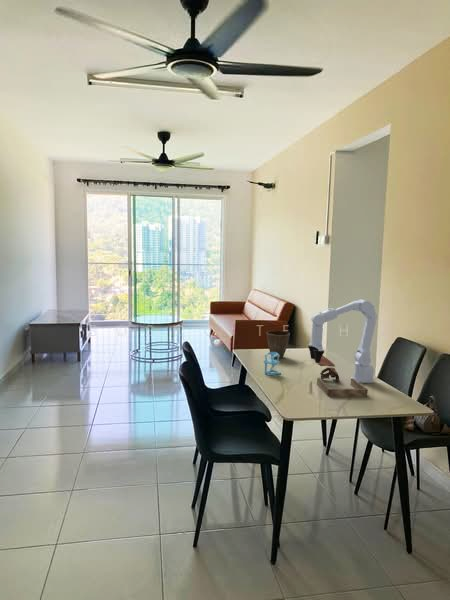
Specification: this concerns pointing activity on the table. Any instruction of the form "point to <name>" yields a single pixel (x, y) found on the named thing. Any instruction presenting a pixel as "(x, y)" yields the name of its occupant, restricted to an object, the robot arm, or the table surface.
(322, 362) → the wooden tablet
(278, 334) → the plant pot
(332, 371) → the pottery mug
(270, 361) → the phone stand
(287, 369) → the table surface
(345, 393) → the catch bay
